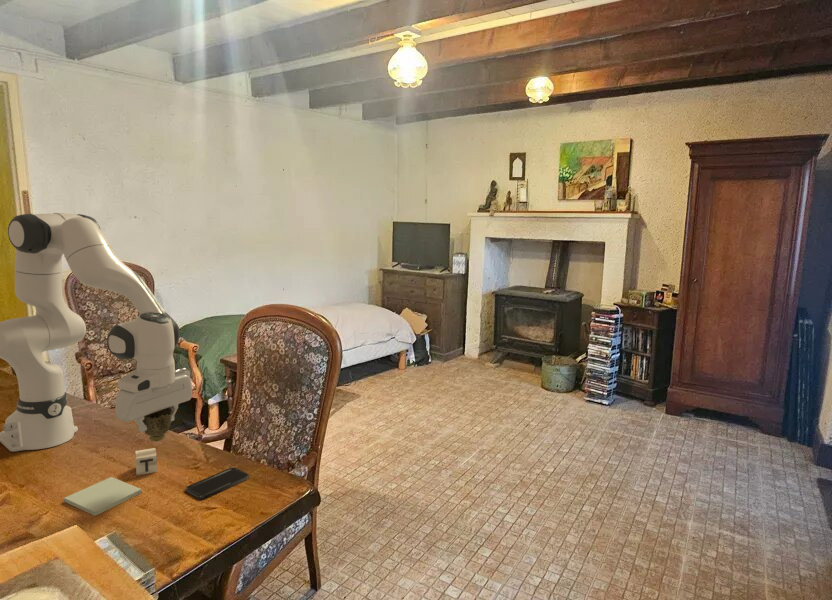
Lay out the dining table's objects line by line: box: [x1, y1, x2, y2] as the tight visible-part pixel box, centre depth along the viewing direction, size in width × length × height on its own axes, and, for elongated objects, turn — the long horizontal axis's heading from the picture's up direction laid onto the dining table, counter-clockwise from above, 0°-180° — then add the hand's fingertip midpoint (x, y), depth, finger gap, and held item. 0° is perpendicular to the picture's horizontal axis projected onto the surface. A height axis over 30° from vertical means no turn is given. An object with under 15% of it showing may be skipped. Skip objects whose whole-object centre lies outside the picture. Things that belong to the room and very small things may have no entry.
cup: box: [142, 407, 172, 442], centre depth 134 cm, size 8×7×8 cm
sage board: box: [63, 476, 142, 517], centre depth 128 cm, size 12×12×1 cm
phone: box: [185, 467, 250, 501], centre depth 137 cm, size 8×1×15 cm
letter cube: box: [135, 447, 158, 476], centre depth 142 cm, size 5×5×5 cm
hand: (157, 425), depth 135 cm, fingers closed on cup, 6 cm apart
